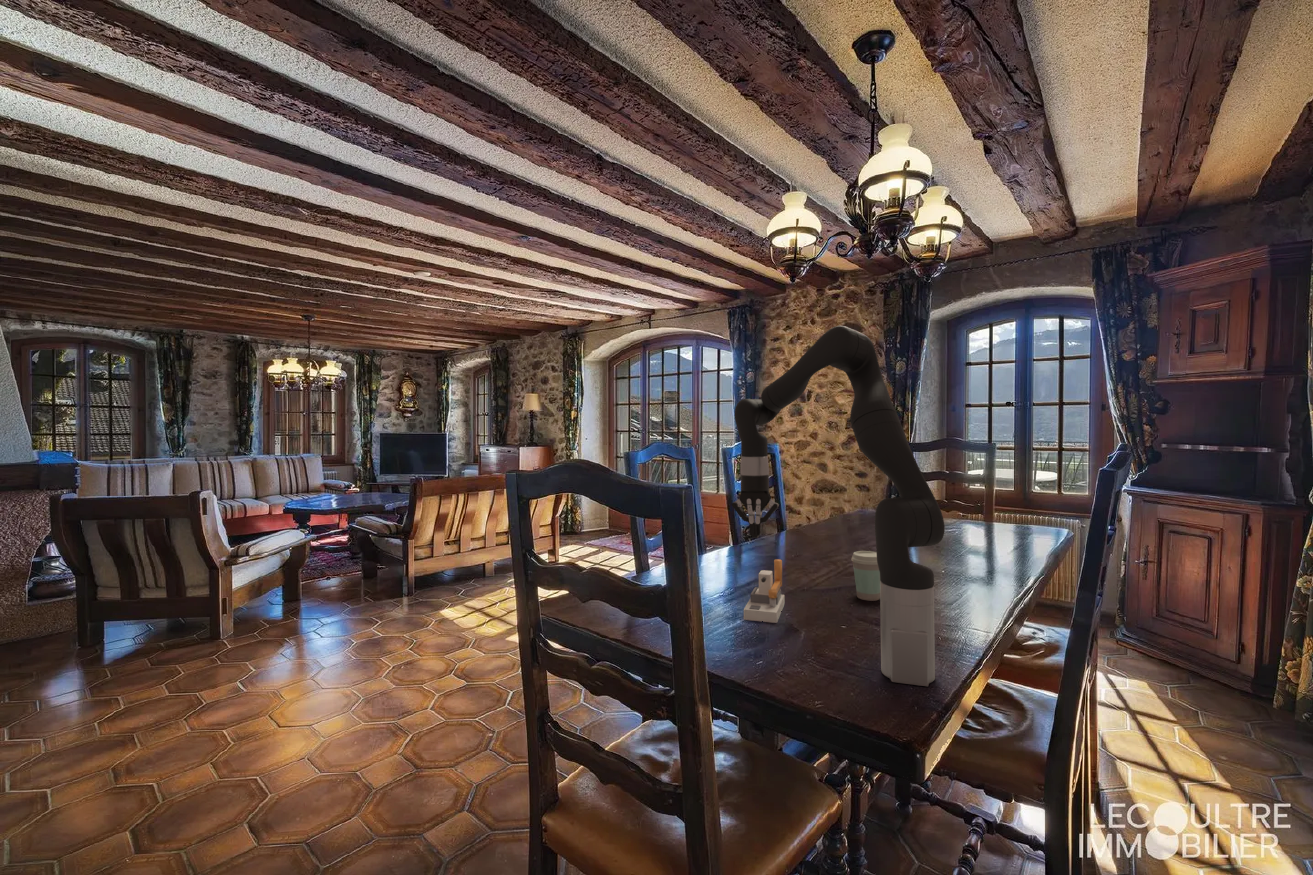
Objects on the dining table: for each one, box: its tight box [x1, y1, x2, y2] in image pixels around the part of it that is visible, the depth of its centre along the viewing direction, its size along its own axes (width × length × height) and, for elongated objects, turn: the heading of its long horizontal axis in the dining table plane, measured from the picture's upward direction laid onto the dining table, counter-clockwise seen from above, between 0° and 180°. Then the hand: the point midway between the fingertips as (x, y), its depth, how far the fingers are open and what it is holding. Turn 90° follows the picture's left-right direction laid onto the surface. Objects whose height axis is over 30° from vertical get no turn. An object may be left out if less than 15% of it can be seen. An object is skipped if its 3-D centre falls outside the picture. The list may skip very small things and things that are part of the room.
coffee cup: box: [850, 550, 880, 602], centre depth 150 cm, size 8×8×12 cm
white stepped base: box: [743, 586, 786, 624], centre depth 140 cm, size 15×8×4 cm, turn 160°
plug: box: [755, 569, 774, 595], centre depth 141 cm, size 6×5×7 cm
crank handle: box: [769, 558, 783, 598], centre depth 142 cm, size 14×2×7 cm, turn 160°
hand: (755, 537), depth 148 cm, fingers closed
